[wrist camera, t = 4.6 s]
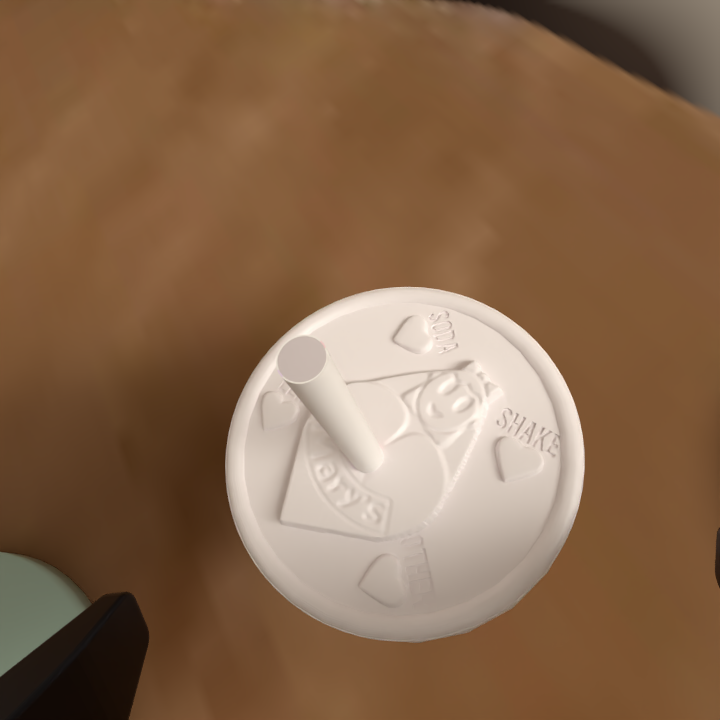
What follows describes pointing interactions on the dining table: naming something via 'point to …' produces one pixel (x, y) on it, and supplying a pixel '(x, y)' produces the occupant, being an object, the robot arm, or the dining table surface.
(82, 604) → the green dish
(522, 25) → the dining table surface
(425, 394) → the smoothie
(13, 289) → the dining table surface
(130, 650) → the robot arm
